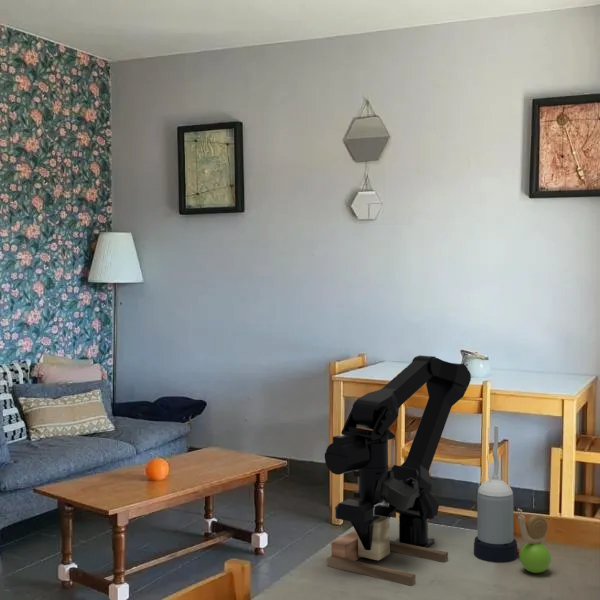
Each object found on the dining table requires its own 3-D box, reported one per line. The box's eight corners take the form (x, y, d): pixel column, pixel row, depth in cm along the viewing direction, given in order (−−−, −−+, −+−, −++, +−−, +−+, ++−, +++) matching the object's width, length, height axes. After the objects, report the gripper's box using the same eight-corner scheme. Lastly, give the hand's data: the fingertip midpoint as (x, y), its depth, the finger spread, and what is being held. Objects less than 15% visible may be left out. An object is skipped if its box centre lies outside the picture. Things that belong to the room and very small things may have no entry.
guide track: (367, 543, 163) (367, 523, 163) (447, 559, 153) (447, 539, 153) (327, 565, 150) (327, 544, 150) (411, 585, 140) (411, 563, 140)
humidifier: (526, 558, 153) (526, 427, 152) (492, 565, 150) (491, 431, 149) (498, 545, 161) (498, 420, 160) (465, 552, 157) (464, 424, 156)
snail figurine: (509, 570, 147) (508, 505, 147) (537, 564, 150) (537, 500, 149) (528, 580, 142) (528, 513, 142) (557, 574, 145) (557, 508, 144)
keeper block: (369, 549, 156) (369, 513, 156) (389, 553, 154) (389, 517, 154) (358, 556, 153) (357, 519, 153) (378, 560, 150) (378, 523, 150)
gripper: (387, 481, 141) (387, 570, 141) (433, 460, 156) (433, 540, 156) (332, 473, 147) (334, 557, 147) (382, 453, 162) (383, 530, 163)
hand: (373, 546), depth 153 cm, fingers closed on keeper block, 4 cm apart
